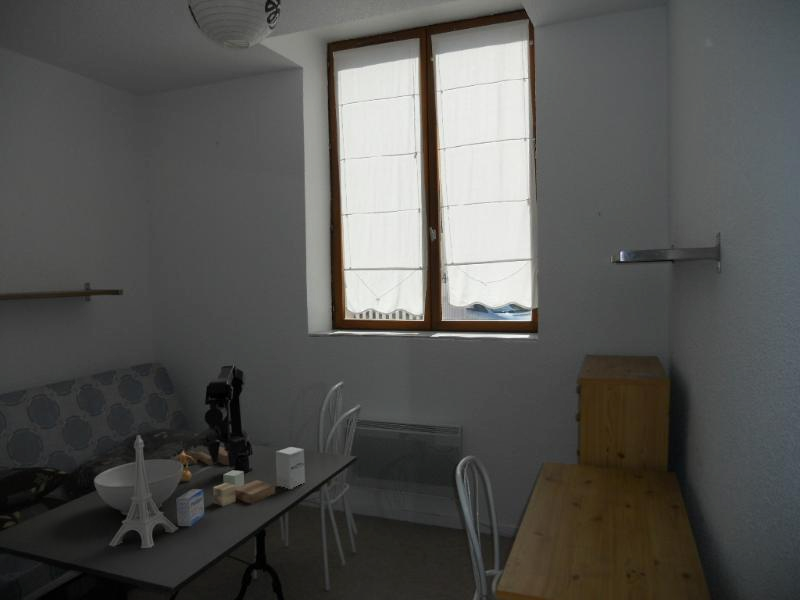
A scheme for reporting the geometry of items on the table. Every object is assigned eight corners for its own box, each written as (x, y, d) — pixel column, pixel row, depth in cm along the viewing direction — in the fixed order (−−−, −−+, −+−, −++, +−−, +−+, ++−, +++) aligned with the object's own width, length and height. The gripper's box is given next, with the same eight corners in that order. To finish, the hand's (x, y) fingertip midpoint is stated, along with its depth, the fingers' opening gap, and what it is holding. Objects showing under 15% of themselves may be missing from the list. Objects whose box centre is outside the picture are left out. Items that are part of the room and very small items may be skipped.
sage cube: (223, 488, 203) (223, 474, 203) (233, 483, 208) (232, 470, 208) (235, 489, 201) (234, 476, 201) (244, 485, 206) (243, 471, 206)
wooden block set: (218, 442, 244) (236, 451, 231) (218, 455, 244) (236, 465, 231) (178, 451, 233) (194, 460, 219) (178, 465, 233) (195, 475, 220)
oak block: (213, 503, 189) (213, 487, 189) (226, 498, 193) (225, 482, 193) (223, 506, 186) (222, 490, 186) (235, 501, 190) (234, 485, 190)
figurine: (198, 478, 215) (197, 447, 214) (194, 484, 209) (193, 451, 208) (175, 480, 214) (174, 448, 213) (171, 486, 208) (169, 453, 207)
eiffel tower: (108, 546, 161) (101, 441, 160) (140, 526, 174) (134, 429, 173) (148, 549, 157) (142, 442, 156) (178, 528, 170) (172, 429, 169)
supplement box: (290, 490, 198) (288, 454, 198) (276, 486, 203) (274, 451, 203) (306, 483, 204) (304, 449, 204) (292, 480, 209) (290, 446, 208)
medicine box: (190, 527, 171) (189, 498, 171) (177, 526, 172) (175, 498, 172) (204, 516, 179) (203, 489, 178) (191, 515, 180) (190, 488, 179)
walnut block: (233, 499, 193) (232, 488, 193) (256, 489, 201) (256, 480, 201) (251, 505, 187) (251, 494, 187) (275, 495, 195) (274, 485, 195)
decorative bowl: (201, 495, 197) (199, 461, 196) (147, 528, 171) (145, 489, 171) (136, 490, 204) (135, 457, 204) (76, 522, 178) (73, 484, 178)
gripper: (183, 420, 188) (185, 467, 189) (216, 427, 177) (219, 477, 177) (212, 413, 197) (214, 458, 197) (246, 419, 186) (248, 467, 186)
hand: (223, 465), depth 189 cm, fingers open, 9 cm apart
